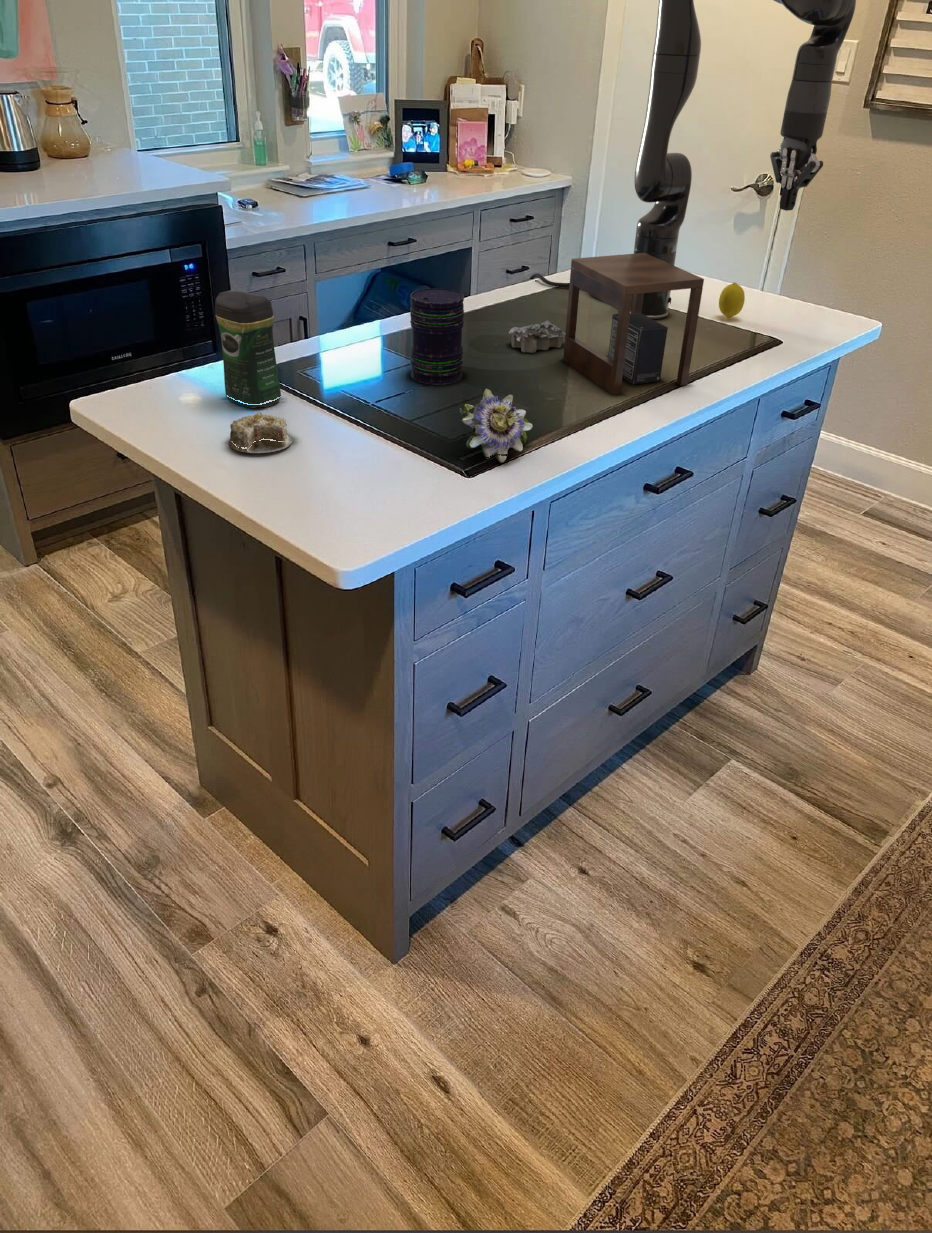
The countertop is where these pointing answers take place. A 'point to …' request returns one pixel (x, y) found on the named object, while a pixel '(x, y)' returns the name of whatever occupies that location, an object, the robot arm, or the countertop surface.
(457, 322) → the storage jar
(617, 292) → the shelf
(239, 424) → the cake
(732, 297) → the lemon
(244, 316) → the coffee jar
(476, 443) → the passion flower
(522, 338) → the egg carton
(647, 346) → the small box
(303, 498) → the countertop surface
